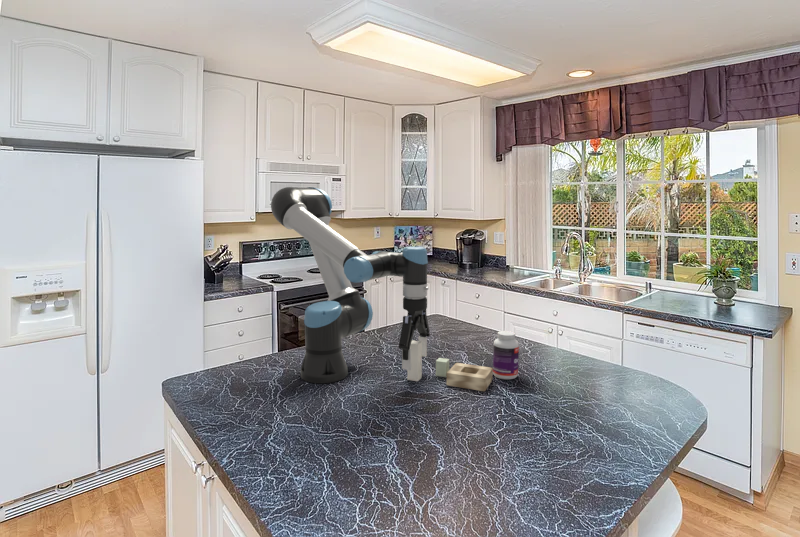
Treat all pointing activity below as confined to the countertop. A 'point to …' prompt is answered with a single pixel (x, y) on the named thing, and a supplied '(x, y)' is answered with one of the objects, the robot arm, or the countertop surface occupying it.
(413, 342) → the long peg
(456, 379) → the hole block
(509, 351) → the pill bottle
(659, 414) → the countertop surface
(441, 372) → the short peg
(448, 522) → the countertop surface
